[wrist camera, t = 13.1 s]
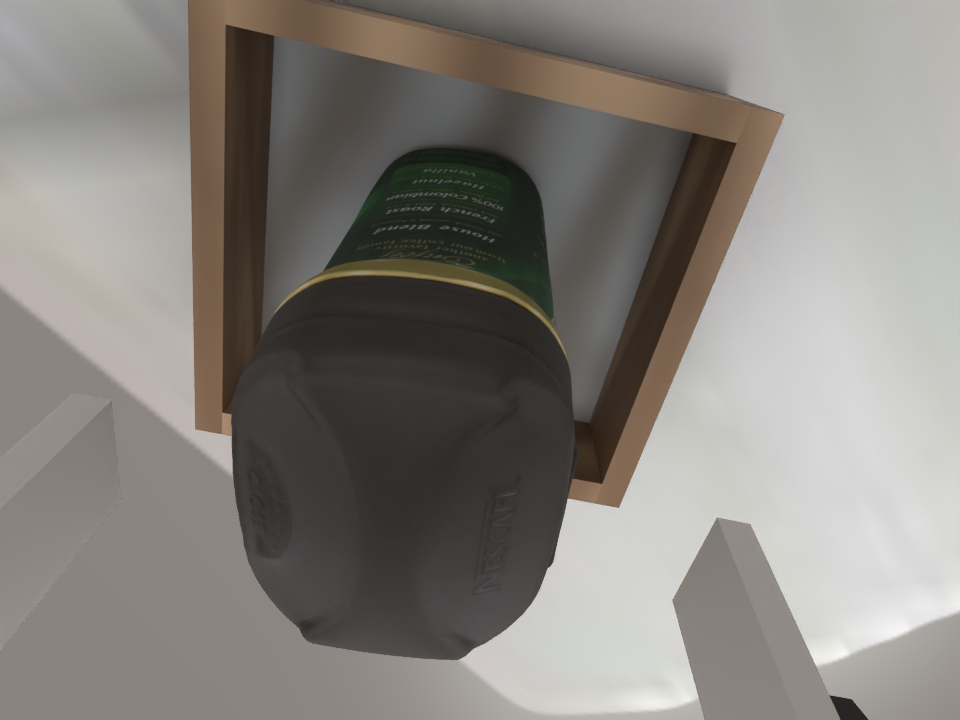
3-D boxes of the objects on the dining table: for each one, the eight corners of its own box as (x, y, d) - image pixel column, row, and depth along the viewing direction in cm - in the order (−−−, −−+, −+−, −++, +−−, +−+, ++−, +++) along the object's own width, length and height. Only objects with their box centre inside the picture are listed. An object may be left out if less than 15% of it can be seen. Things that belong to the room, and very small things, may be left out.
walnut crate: (728, 95, 26) (784, 114, 21) (601, 434, 35) (618, 507, 30) (254, -18, 25) (187, -27, 20) (243, 364, 34) (195, 429, 28)
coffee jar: (371, 134, 27) (163, 318, 10) (554, 156, 27) (633, 370, 11) (366, 335, 31) (218, 678, 15) (522, 352, 31) (543, 711, 15)
